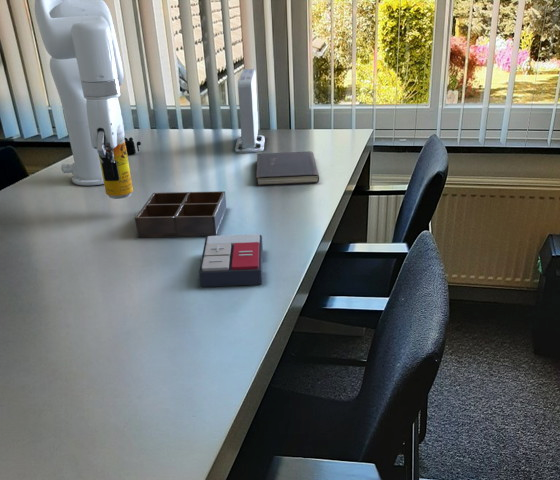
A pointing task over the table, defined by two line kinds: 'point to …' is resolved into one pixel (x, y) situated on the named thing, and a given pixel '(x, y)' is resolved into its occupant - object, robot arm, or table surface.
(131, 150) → the wireless earbuds
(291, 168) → the hardcover book
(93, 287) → the table surface
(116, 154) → the beer can
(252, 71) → the network device
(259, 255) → the calculator
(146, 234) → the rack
